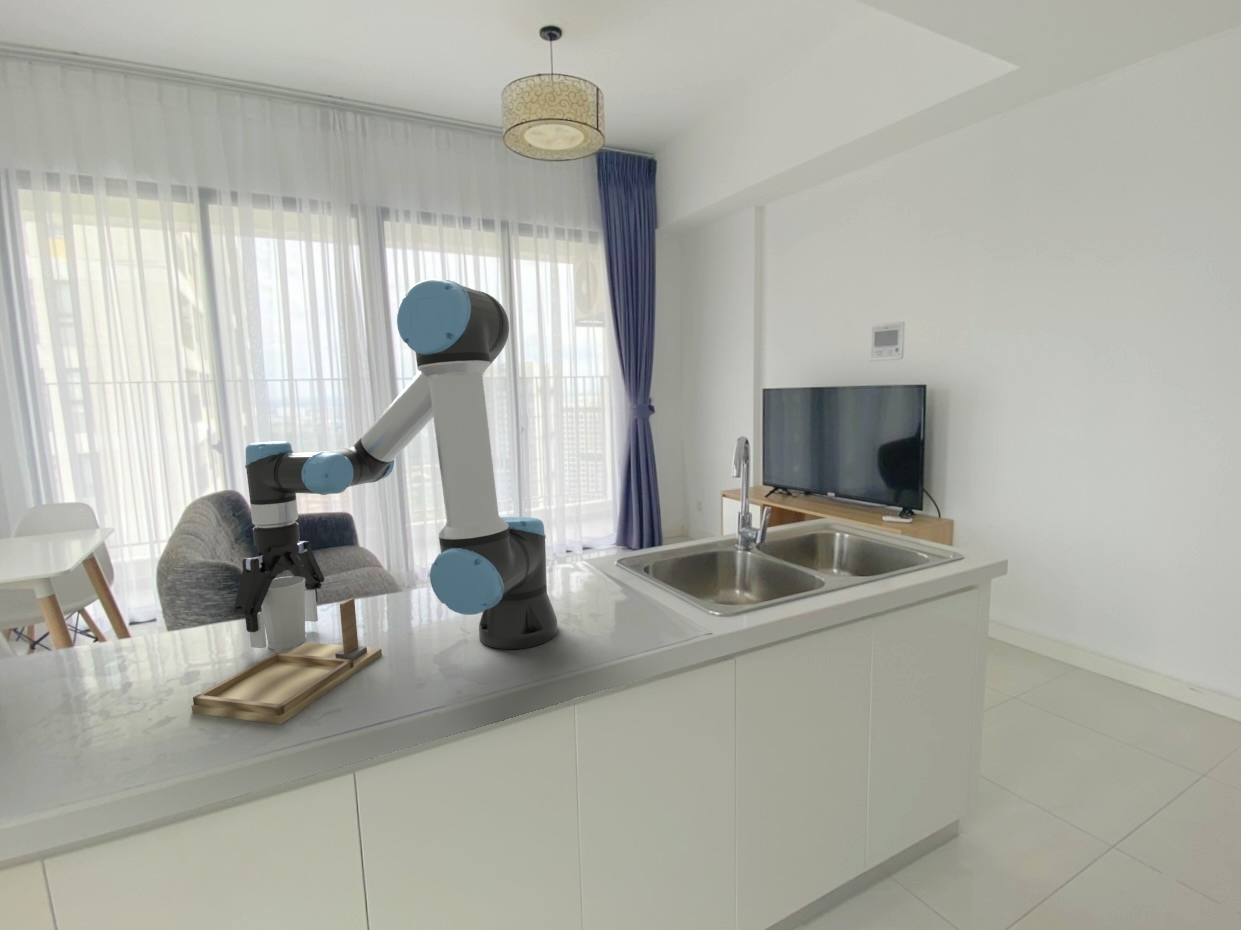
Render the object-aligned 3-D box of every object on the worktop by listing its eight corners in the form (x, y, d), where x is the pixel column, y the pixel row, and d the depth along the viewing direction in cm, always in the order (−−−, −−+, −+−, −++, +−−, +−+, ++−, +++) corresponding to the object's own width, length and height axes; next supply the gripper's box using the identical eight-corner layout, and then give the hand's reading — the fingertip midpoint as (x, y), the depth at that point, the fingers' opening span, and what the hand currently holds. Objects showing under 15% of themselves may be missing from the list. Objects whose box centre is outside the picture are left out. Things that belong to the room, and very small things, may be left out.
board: (381, 654, 106) (377, 595, 104) (281, 724, 84) (273, 650, 82) (307, 648, 110) (302, 590, 108) (192, 712, 87) (183, 641, 86)
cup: (289, 652, 108) (283, 590, 106) (252, 650, 109) (246, 588, 108) (319, 635, 115) (314, 576, 114) (285, 633, 117) (279, 575, 116)
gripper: (307, 510, 122) (316, 609, 125) (199, 538, 99) (213, 659, 101) (337, 511, 120) (346, 611, 123) (235, 539, 97) (248, 662, 100)
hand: (286, 633), depth 112 cm, fingers open, 12 cm apart
